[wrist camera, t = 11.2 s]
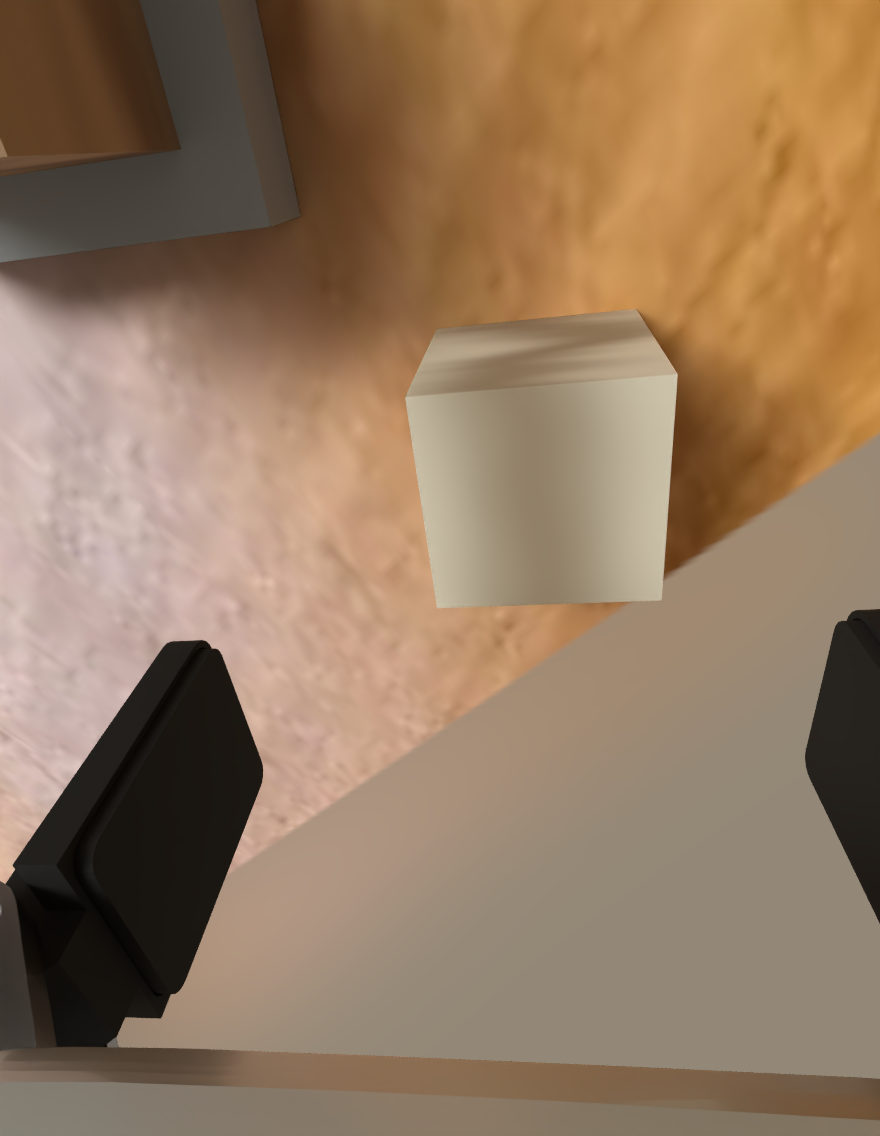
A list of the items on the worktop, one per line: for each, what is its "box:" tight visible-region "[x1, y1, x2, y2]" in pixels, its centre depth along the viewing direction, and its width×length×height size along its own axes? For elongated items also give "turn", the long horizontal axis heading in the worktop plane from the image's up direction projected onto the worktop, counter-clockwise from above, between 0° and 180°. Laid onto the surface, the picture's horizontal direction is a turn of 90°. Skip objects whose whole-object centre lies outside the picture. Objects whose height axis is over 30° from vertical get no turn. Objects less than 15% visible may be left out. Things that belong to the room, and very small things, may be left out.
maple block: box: [405, 309, 678, 608], centre depth 18 cm, size 6×6×6 cm
